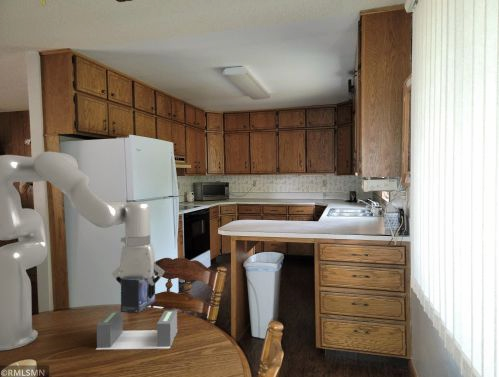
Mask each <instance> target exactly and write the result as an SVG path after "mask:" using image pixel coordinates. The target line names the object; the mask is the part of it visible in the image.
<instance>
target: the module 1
mask: <svg viewBox="0 0 499 377" xmlns="http://www.w3.org/2000/svg"><path fill="white" fill-rule="evenodd" d="M123 319H124V318H123V312H121V310H120V311H119V310H117V311H114V310H113V311H109V312H108V313H107V314H106V315H105V316H104V317H103V318H102V319H101V320H99V322H97V324H96V348H111V346H112V345H113V344H114V342H115V341H116V340H117V339H118V337H119V336H120V335H121V334H122V332H123V331H124V328H123V326H124V324H123V323H124V322H123Z"/></svg>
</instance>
